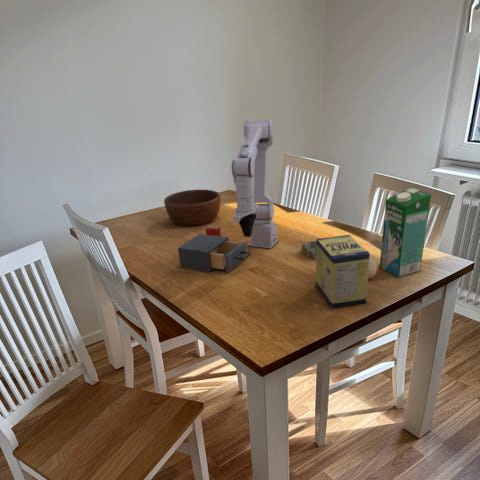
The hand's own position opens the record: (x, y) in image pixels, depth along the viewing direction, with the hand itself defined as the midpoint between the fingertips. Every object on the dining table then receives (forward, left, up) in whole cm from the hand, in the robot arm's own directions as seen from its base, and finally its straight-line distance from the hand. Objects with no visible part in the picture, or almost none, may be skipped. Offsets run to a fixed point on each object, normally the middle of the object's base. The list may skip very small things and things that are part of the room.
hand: (247, 236), depth 154 cm
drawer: (+7, +3, -10) cm, 12 cm away
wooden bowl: (+46, -37, -11) cm, 60 cm away
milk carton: (-49, -12, -11) cm, 51 cm away
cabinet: (+16, +3, -11) cm, 20 cm away
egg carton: (-19, -16, -11) cm, 27 cm away
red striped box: (+21, -12, -11) cm, 27 cm away
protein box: (-36, +11, -11) cm, 39 cm away
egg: (-41, -2, -11) cm, 42 cm away
